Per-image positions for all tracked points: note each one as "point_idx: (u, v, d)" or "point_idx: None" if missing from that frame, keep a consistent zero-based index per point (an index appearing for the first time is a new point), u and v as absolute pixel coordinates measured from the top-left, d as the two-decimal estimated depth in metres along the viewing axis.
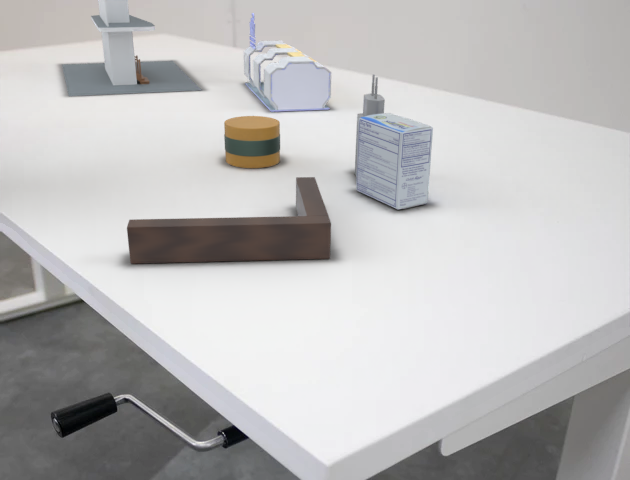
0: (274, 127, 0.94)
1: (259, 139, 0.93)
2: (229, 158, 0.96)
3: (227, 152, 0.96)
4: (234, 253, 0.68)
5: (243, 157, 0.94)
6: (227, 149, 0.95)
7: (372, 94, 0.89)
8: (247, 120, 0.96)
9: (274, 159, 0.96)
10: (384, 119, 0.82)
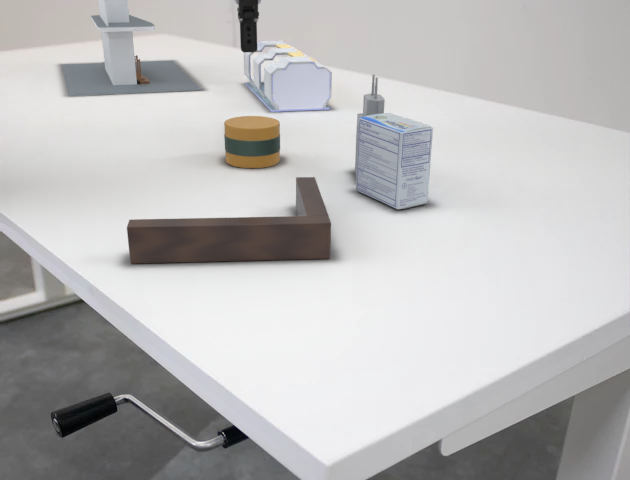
0: (274, 127, 0.94)
1: (259, 139, 0.93)
2: (229, 158, 0.96)
3: (227, 152, 0.96)
4: (234, 253, 0.68)
5: (243, 157, 0.94)
6: (227, 149, 0.95)
7: (372, 94, 0.89)
8: (247, 120, 0.96)
9: (274, 159, 0.96)
10: (384, 119, 0.82)
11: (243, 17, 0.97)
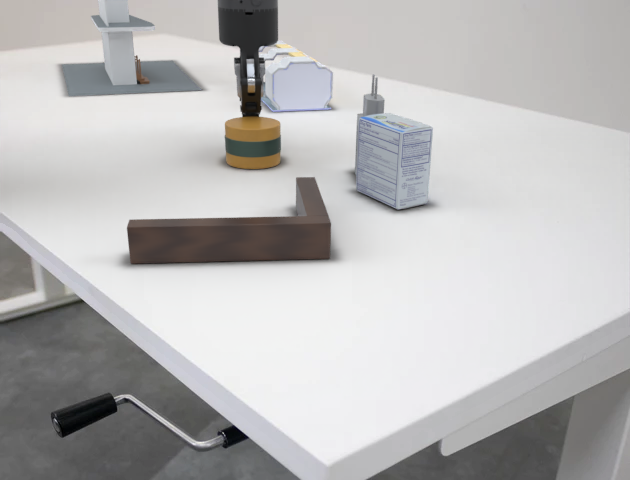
0: (275, 128, 0.94)
1: (259, 140, 0.93)
2: (229, 159, 0.95)
3: (227, 153, 0.95)
4: (234, 253, 0.68)
5: (244, 157, 0.94)
6: (227, 149, 0.95)
7: (372, 94, 0.89)
8: (248, 121, 0.96)
9: (275, 160, 0.95)
10: (384, 119, 0.82)
11: (246, 111, 0.98)
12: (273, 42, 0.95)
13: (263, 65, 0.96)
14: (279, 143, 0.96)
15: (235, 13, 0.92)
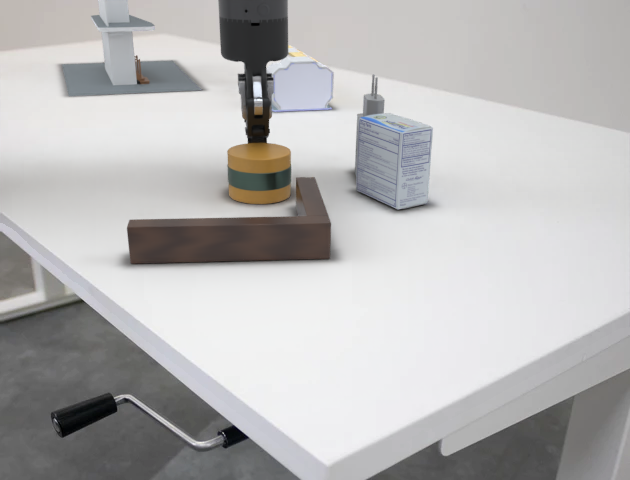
0: (284, 158, 0.82)
1: (266, 171, 0.81)
2: (232, 191, 0.84)
3: (230, 185, 0.84)
4: (234, 253, 0.68)
5: (248, 191, 0.82)
6: (230, 181, 0.83)
7: (372, 94, 0.89)
8: (254, 148, 0.84)
9: (284, 193, 0.84)
10: (384, 119, 0.82)
11: (252, 135, 0.86)
12: (282, 57, 0.83)
13: (271, 83, 0.84)
14: (289, 174, 0.84)
15: (240, 24, 0.80)
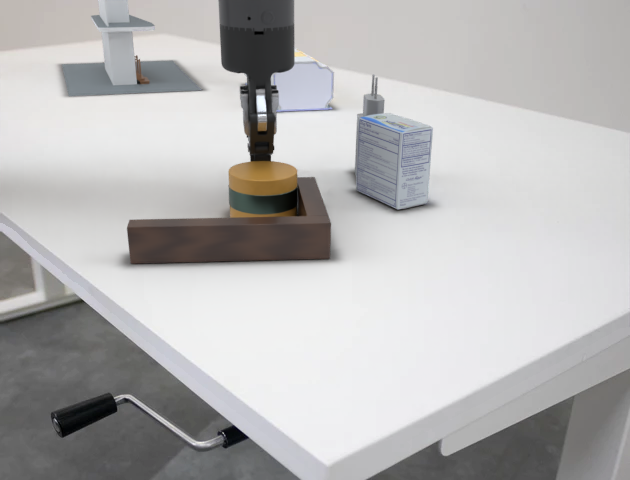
0: (290, 178, 0.75)
1: (270, 193, 0.74)
2: (233, 214, 0.77)
3: (231, 207, 0.77)
4: (234, 253, 0.68)
5: (251, 214, 0.75)
6: (231, 203, 0.77)
7: (372, 94, 0.89)
8: (257, 167, 0.78)
9: None
10: (384, 119, 0.82)
11: (255, 153, 0.79)
12: (288, 68, 0.76)
13: (276, 96, 0.78)
14: (295, 196, 0.77)
15: (242, 32, 0.73)
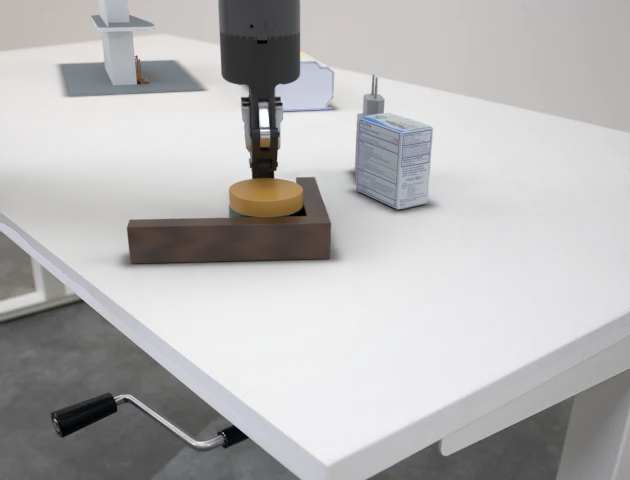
0: (295, 198, 0.70)
1: (274, 214, 0.69)
2: None
3: None
4: (234, 253, 0.68)
5: None
6: None
7: (372, 94, 0.89)
8: (260, 186, 0.72)
9: None
10: (384, 119, 0.82)
11: (257, 169, 0.74)
12: (293, 79, 0.71)
13: (280, 109, 0.72)
14: None
15: (244, 41, 0.67)
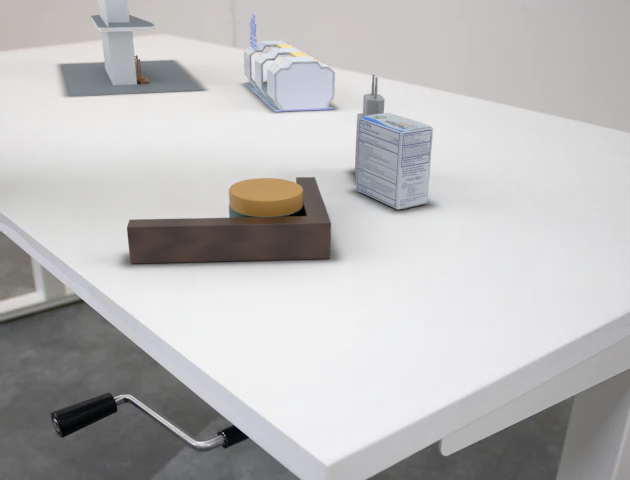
0: (295, 198, 0.70)
1: (274, 214, 0.69)
2: None
3: None
4: (234, 253, 0.68)
5: None
6: None
7: (372, 94, 0.89)
8: (260, 186, 0.72)
9: None
10: (384, 119, 0.82)
11: None
12: None
13: None
14: None
15: None
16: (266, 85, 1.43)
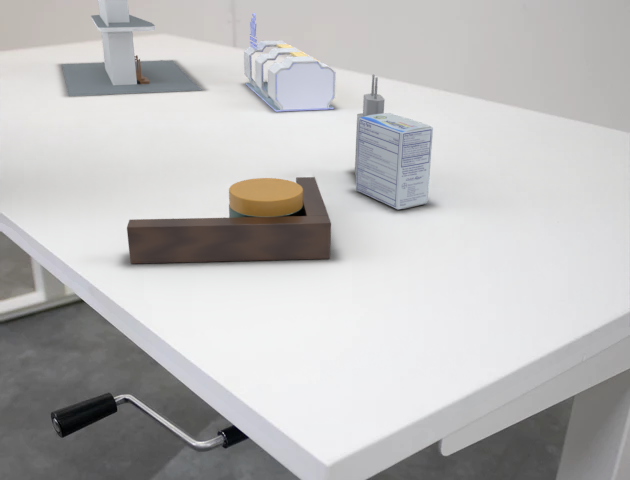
0: (295, 198, 0.70)
1: (274, 214, 0.69)
2: None
3: None
4: (234, 253, 0.68)
5: None
6: None
7: (372, 94, 0.89)
8: (260, 186, 0.72)
9: None
10: (384, 119, 0.82)
11: None
12: None
13: None
14: None
15: None
16: (266, 85, 1.43)
